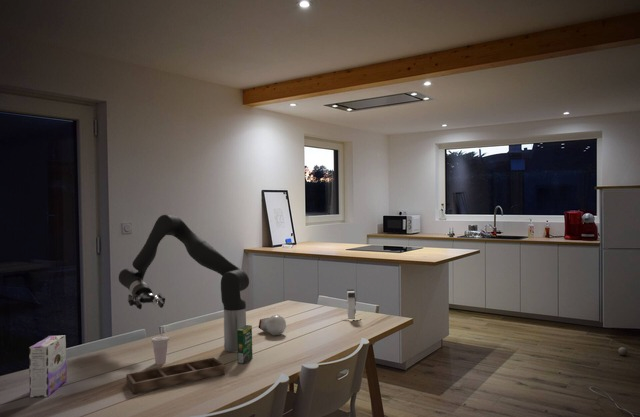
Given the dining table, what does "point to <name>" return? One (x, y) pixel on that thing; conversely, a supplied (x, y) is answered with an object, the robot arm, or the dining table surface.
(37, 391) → the candy box
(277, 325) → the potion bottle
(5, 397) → the dining table surface
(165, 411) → the dining table surface
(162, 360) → the smoothie
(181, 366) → the tray
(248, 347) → the coffee box
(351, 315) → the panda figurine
